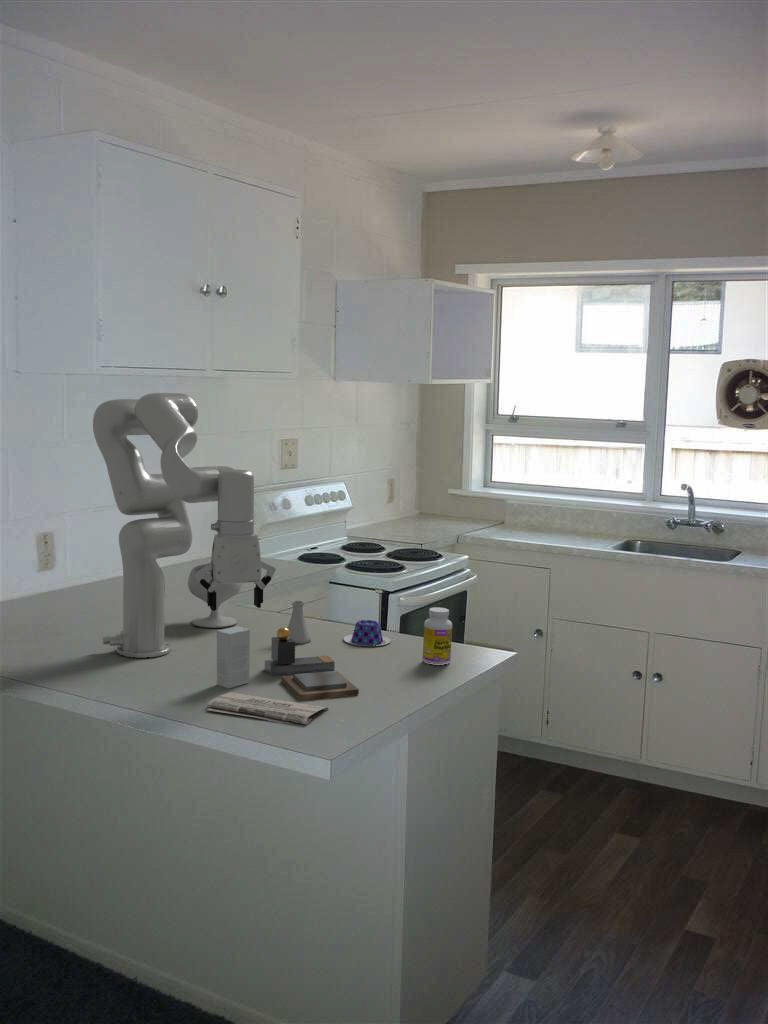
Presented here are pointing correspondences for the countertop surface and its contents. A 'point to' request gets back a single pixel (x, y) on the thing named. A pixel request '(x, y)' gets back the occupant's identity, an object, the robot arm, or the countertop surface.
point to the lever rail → (301, 665)
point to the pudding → (366, 634)
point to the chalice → (222, 595)
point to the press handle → (283, 647)
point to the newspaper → (264, 708)
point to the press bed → (319, 685)
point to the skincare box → (233, 656)
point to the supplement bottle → (437, 637)
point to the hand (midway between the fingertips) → (235, 608)
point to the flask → (298, 624)
